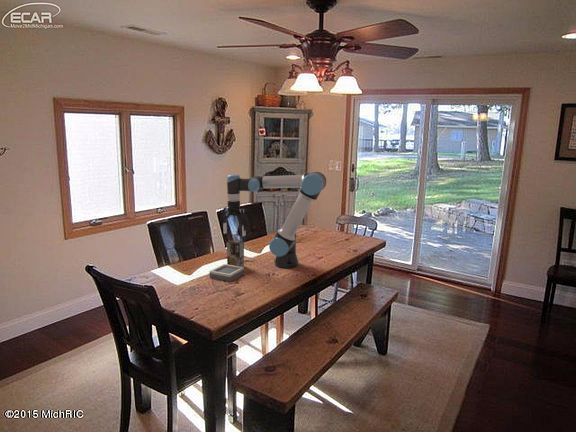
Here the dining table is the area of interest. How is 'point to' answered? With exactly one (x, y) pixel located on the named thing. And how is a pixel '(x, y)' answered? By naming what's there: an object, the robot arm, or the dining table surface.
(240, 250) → the coffee box
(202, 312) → the dining table surface
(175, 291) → the dining table surface
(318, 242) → the dining table surface
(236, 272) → the grey square tray
